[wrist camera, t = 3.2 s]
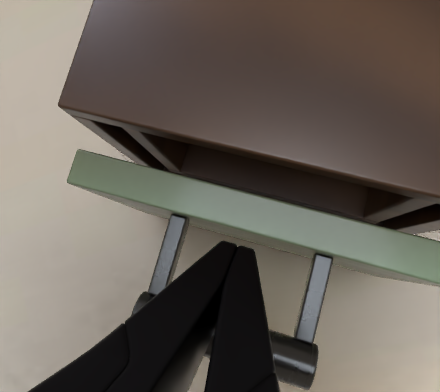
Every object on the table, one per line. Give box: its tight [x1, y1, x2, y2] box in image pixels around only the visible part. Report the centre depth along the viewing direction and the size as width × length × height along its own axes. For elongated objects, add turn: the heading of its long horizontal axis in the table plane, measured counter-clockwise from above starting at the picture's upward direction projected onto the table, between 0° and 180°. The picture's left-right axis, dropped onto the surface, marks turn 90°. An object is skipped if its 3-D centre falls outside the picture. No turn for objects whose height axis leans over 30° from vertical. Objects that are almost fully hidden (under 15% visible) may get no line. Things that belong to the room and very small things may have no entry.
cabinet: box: [58, 0, 440, 234], centre depth 17 cm, size 15×14×11 cm
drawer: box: [67, 127, 440, 390], centre depth 17 cm, size 18×12×9 cm
